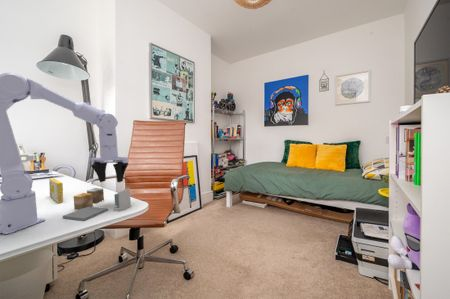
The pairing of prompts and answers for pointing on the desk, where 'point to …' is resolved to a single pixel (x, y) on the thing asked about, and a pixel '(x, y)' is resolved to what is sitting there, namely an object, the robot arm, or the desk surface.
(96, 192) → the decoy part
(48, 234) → the desk surface
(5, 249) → the desk surface
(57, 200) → the candy box
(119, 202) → the wall unit
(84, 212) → the parts mat
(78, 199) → the tan small block
